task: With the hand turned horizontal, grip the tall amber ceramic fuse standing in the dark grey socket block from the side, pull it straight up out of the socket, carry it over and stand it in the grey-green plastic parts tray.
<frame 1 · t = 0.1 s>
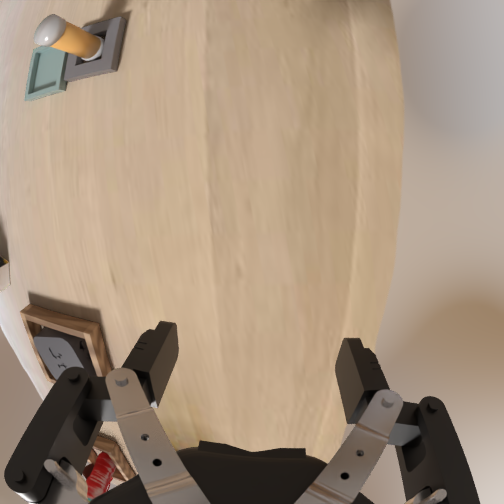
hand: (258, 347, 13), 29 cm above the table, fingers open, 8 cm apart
fuse: (96, 50, 32), resting in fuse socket
streaming box: (72, 350, 54), resting in speaker stand
water bottle: (106, 453, 73), resting in bottle rack
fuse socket: (96, 50, 32), on the table
speaker stand: (72, 351, 54), on the table
bottle rack: (106, 454, 73), on the table
medicine bottle: (2, 267, 48), on the table
parts tray: (51, 69, 33), on the table
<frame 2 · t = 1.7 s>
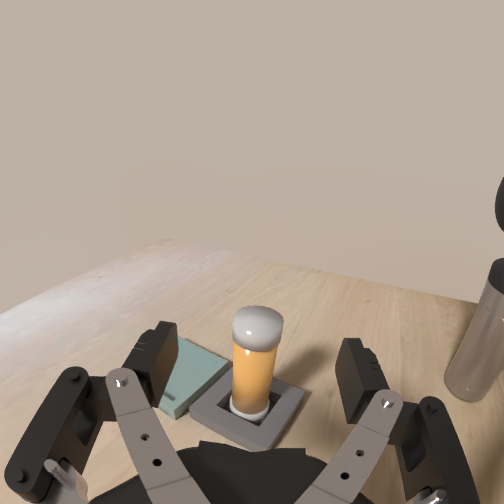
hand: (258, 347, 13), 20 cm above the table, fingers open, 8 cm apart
fuse: (248, 410, 30), resting in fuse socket
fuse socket: (248, 410, 30), on the table
parts tray: (174, 377, 34), on the table
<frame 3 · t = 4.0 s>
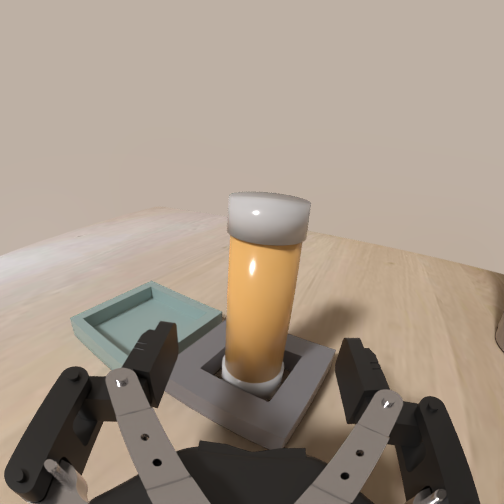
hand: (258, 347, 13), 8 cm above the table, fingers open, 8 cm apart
fuse: (251, 381, 21), resting in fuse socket
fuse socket: (251, 381, 21), on the table
parts tray: (145, 334, 25), on the table
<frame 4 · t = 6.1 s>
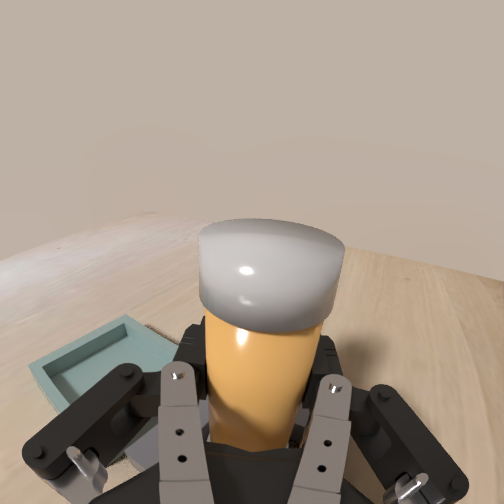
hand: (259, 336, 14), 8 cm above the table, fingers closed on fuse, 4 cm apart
fuse: (246, 458, 14), resting in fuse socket, touching gripper
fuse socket: (246, 458, 14), on the table
parts tray: (116, 386, 18), on the table
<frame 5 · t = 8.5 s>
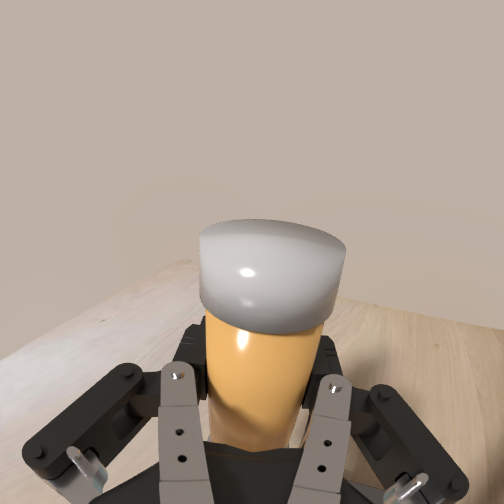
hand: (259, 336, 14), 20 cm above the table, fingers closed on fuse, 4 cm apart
fuse: (246, 458, 14), point 12 cm above the table, touching gripper
when the fingers open (10 cm above the table, at t = 10.9 s): fuse stays where it is, resting on parts tray.
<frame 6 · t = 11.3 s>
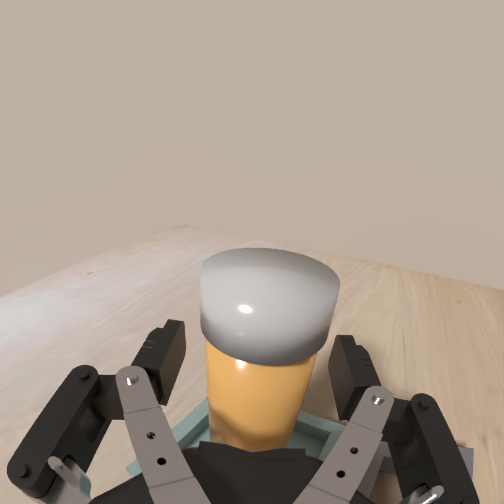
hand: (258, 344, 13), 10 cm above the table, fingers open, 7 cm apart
fuse: (244, 466, 14), point 1 cm above the table, touching parts tray
parts tray: (243, 469, 14), on the table
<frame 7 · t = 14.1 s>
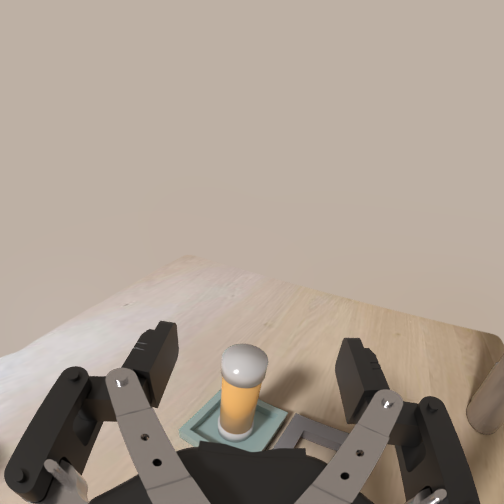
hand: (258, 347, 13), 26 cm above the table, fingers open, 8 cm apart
fuse: (234, 428, 32), point 1 cm above the table, touching parts tray
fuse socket: (310, 459, 29), on the table
parts tray: (234, 430, 32), on the table
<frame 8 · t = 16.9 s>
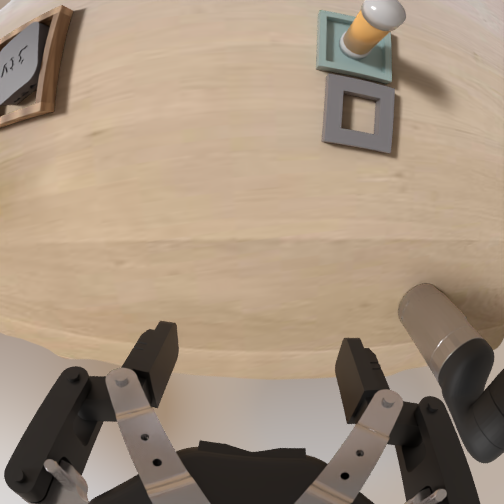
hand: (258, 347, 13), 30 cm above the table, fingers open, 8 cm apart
fuse: (353, 46, 31), point 1 cm above the table, touching parts tray
streaming box: (31, 65, 33), resting in speaker stand
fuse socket: (357, 114, 35), on the table
speaker stand: (26, 71, 33), on the table
parts tray: (353, 47, 31), on the table
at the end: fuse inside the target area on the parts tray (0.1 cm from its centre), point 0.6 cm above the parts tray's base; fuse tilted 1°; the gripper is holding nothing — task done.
